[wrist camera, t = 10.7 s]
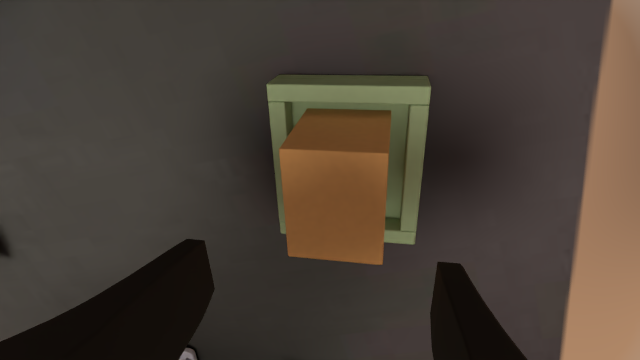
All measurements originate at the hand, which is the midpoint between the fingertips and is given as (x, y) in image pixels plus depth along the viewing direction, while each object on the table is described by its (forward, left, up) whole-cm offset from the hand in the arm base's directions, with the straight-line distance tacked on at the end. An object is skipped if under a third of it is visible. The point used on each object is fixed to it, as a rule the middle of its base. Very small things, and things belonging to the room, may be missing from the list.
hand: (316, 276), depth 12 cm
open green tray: (0, 0, -9) cm, 9 cm away
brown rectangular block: (0, 0, -9) cm, 9 cm away
